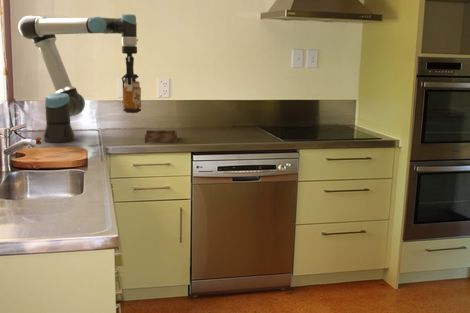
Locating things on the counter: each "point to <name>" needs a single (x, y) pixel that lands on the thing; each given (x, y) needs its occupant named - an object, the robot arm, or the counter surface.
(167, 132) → the cradle
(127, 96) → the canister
